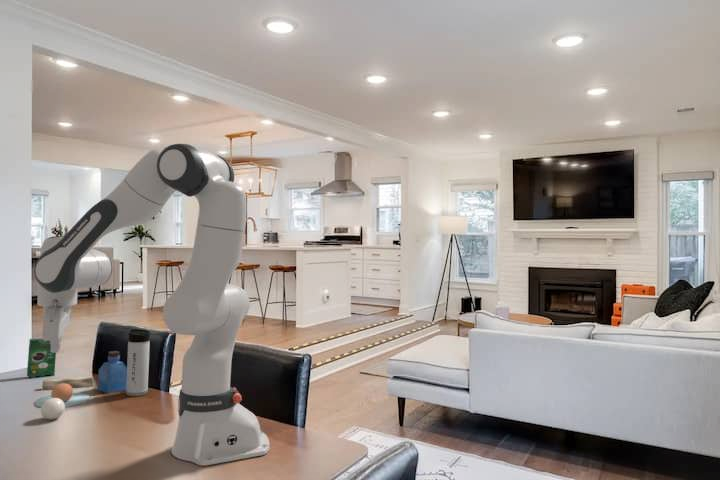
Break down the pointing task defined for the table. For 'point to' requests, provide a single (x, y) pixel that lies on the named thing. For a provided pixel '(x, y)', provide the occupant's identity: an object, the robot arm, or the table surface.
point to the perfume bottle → (112, 374)
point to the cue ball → (52, 408)
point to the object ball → (62, 392)
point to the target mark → (74, 400)
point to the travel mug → (138, 362)
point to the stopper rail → (68, 382)
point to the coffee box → (40, 358)
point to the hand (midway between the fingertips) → (55, 351)
